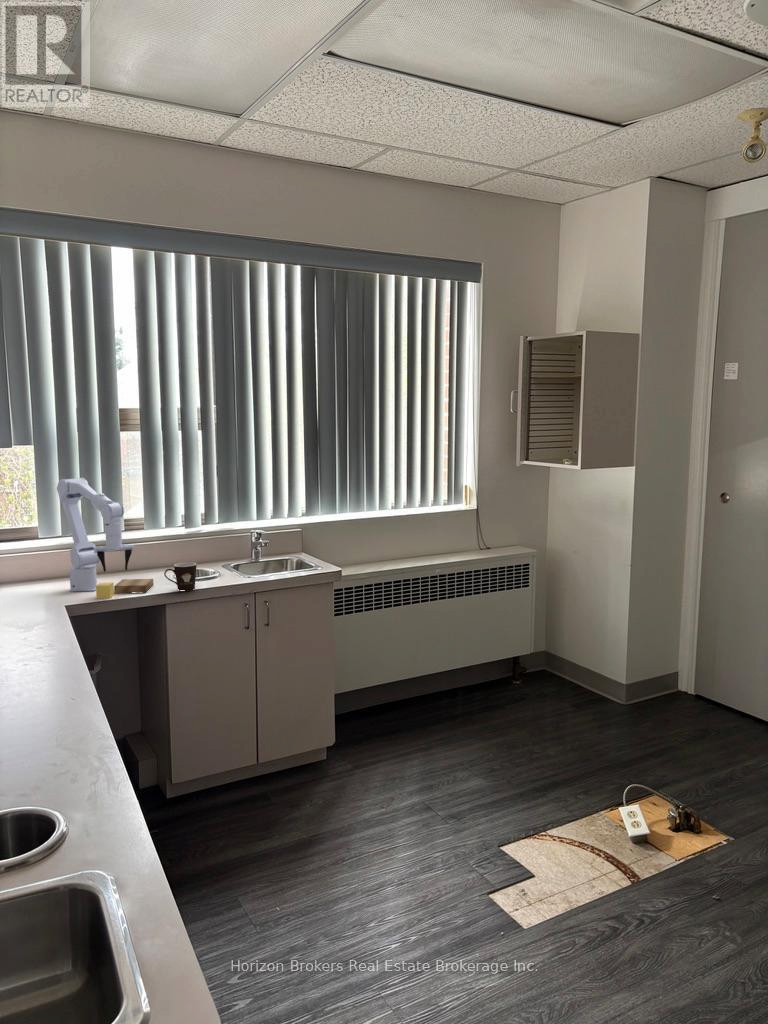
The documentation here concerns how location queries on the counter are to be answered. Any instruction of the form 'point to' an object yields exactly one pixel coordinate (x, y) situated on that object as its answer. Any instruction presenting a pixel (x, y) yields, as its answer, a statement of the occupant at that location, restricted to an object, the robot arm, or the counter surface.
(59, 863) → the counter surface
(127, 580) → the walnut base
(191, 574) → the coffee mug
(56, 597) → the counter surface
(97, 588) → the mustard cube
